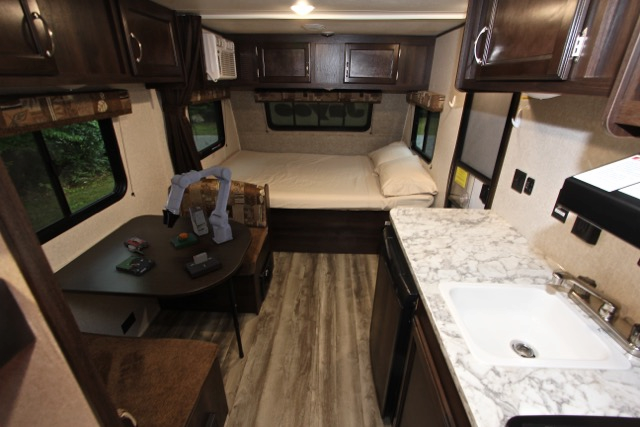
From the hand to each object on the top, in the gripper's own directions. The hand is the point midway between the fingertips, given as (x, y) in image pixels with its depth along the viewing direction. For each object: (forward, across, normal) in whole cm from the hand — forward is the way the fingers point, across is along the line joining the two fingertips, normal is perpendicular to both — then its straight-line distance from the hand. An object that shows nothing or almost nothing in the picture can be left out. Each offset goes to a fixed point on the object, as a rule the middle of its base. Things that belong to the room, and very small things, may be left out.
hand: (167, 226), depth 141 cm
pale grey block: (+14, +8, +18) cm, 24 cm away
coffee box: (+5, -29, +29) cm, 41 cm away
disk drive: (+26, -14, -5) cm, 30 cm away
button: (+8, -22, +17) cm, 29 cm away
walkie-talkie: (+20, -33, -1) cm, 39 cm away
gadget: (+17, +8, +19) cm, 27 cm away
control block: (+12, -22, +19) cm, 31 cm away
